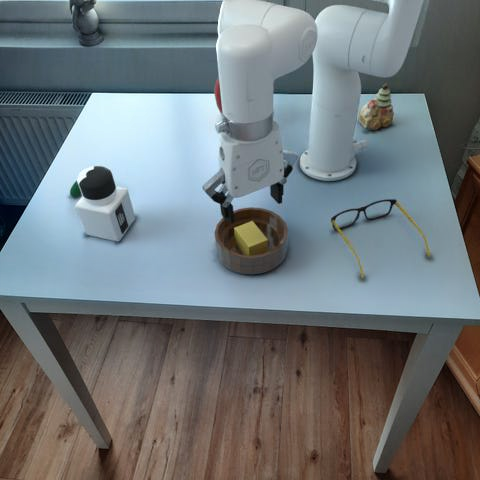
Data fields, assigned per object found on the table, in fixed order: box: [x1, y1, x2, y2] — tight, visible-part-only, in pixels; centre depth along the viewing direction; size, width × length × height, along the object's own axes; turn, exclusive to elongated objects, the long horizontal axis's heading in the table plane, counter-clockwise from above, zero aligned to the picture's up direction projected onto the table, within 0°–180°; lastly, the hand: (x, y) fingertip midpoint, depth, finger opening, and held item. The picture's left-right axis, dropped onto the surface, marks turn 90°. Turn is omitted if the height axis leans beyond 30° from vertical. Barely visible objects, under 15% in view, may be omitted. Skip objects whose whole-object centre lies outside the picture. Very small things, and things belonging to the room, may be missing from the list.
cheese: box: [234, 221, 268, 256], centre depth 89 cm, size 4×6×4 cm, turn 27°
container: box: [74, 165, 136, 243], centre depth 92 cm, size 8×8×13 cm
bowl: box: [214, 206, 289, 275], centre depth 90 cm, size 14×14×5 cm
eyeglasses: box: [330, 198, 431, 279], centre depth 90 cm, size 14×14×4 cm
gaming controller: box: [69, 170, 83, 198], centre depth 103 cm, size 9×4×6 cm
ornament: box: [358, 83, 395, 131], centre depth 112 cm, size 8×6×10 cm
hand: (252, 208), depth 84 cm, fingers open, 9 cm apart
